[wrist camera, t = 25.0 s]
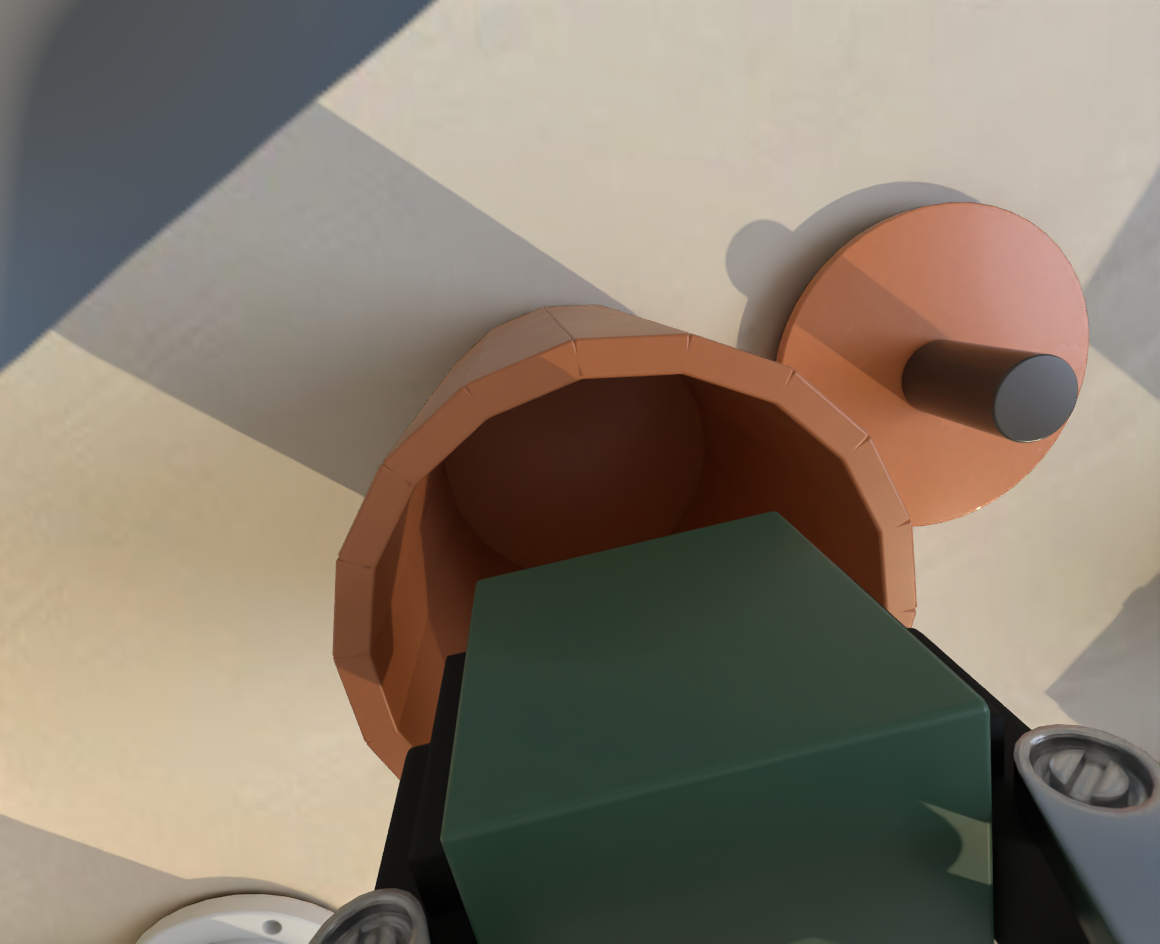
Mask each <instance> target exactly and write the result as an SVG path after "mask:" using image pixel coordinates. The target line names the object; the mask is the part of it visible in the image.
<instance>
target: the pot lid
mask: <svg viewBox="0 0 1160 944" xmlns="http://www.w3.org/2000/svg"><path fill="white" fill-rule="evenodd" d="M1088 345H1089V329H1088V316H1087V310H1086V304H1085V299H1084V296H1083V293H1082V289H1081V286H1080V283H1079V280H1078V278H1077V276H1076V274H1075V272H1074V270H1073V268H1072V266H1071V264H1070V262H1069V261H1068V259H1067V258H1066V256H1065V255H1064V254H1063V252H1062V251H1061V249H1060V248H1059V247H1058V246H1057V245H1056V243H1055V242H1054V241H1053V240H1052V239H1051V238H1050V237H1049V236H1048V235H1047V234H1046V233H1045V232H1043V231H1042V230H1041V229H1039V228H1038V227H1037V226H1035V225H1034V224H1033V223H1031V222H1030V221H1028V220H1026V219H1024V218H1022V217H1020V216H1018V215H1016V214H1014V213H1012V212H1010V211H1007V210H1004V209H1001V208H998V207H995V206H991V205H985V204H978V203H971V202H949V203H942V204H936V205H929V206H923V207H919V208H915V209H912V210H908V211H905V212H902V213H898V214H896V215H894V216H892V217H889V218H887V219H885V220H883V221H880V222H878V223H876V224H875V225H873V226H871V227H870V228H868V229H866V230H865V231H863V232H861V233H860V234H858V235H857V236H856V237H854V238H853V239H852V240H850V241H849V242H848V243H847V244H845V245H844V246H843V247H842V248H840V249H839V250H838V251H837V252H836V253H835V254H834V255H833V256H832V257H831V258H830V259H829V260H828V261H827V262H826V263H825V264H824V265H823V266H822V267H821V269H820V270H819V271H818V272H817V274H816V275H815V276H814V278H813V279H812V280H811V281H810V283H809V284H808V285H807V287H806V289H805V290H804V292H803V293H802V295H801V297H800V298H799V300H798V302H797V303H796V305H795V307H794V309H793V311H792V313H791V316H790V318H789V320H788V322H787V324H786V327H785V330H784V333H783V336H782V339H781V342H780V345H779V349H778V354H777V359H776V362H778V363H781V364H784V365H787V366H790V367H791V368H792V369H793V370H796V371H798V372H799V373H800V374H801V375H802V376H804V377H805V378H806V379H807V380H808V381H809V382H811V383H812V384H813V385H814V386H815V387H816V388H817V389H819V390H820V391H821V392H822V393H823V394H824V395H826V396H827V397H828V398H829V399H830V400H831V401H833V402H834V403H835V404H836V405H837V406H838V407H839V408H841V409H842V410H843V411H844V412H845V413H846V414H848V415H849V416H850V417H851V418H852V419H853V420H854V421H856V422H857V423H858V424H859V425H860V426H861V427H863V428H864V429H865V430H866V431H867V433H868V435H869V436H870V437H872V439H873V441H874V443H875V445H876V448H877V450H878V452H879V454H880V456H881V458H882V460H883V462H884V464H885V466H886V468H887V470H888V472H889V474H890V476H891V478H892V480H893V482H894V484H895V487H896V489H897V491H898V493H899V495H900V497H901V499H902V501H903V503H904V505H905V507H906V509H907V511H908V513H909V515H910V520H911V522H912V526H925V525H931V524H937V523H942V522H945V521H949V520H952V519H955V518H959V517H961V516H964V515H966V514H968V513H971V512H973V511H975V510H978V509H980V508H982V507H983V506H985V505H987V504H989V503H990V502H992V501H994V500H996V499H997V498H999V497H1000V496H1001V495H1003V494H1004V493H1006V492H1007V491H1008V490H1010V489H1011V488H1013V487H1014V486H1015V485H1016V484H1017V483H1018V482H1019V481H1021V480H1022V479H1023V478H1024V477H1025V476H1026V475H1027V474H1028V473H1029V472H1030V471H1031V470H1032V469H1033V468H1034V467H1035V466H1036V465H1037V464H1038V463H1039V462H1040V460H1041V459H1042V458H1043V457H1044V456H1045V454H1046V453H1047V452H1048V450H1049V449H1050V448H1051V446H1052V445H1053V444H1054V442H1055V441H1056V439H1057V438H1058V436H1059V434H1060V433H1061V431H1062V429H1063V428H1064V426H1065V424H1066V423H1067V421H1068V419H1069V416H1070V415H1071V413H1072V411H1073V409H1074V407H1075V404H1076V401H1077V398H1078V395H1079V392H1080V389H1081V386H1082V383H1083V378H1084V373H1085V369H1086V364H1087V356H1088Z"/></svg>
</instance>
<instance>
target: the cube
mask: <svg viewBox="0 0 1160 944" xmlns="http://www.w3.org/2000/svg"><path fill="white" fill-rule="evenodd" d="M440 840H441V843H442V846H443V849H444V851H445V854H446V857H447V860H448V863H449V865H450V868H451V871H452V874H453V876H454V879H455V882H456V885H457V887H458V890H459V893H460V896H461V899H462V901H463V904H464V907H465V910H466V912H467V915H468V918H469V921H470V923H471V926H472V929H473V932H474V935H475V937H476V940H477V943H478V944H994V911H993V855H992V799H991V743H990V710H989V708H988V705H987V704H986V702H985V700H984V699H983V698H982V697H981V696H980V695H978V694H977V693H976V692H975V691H974V690H973V689H972V688H971V687H970V686H969V685H967V684H966V683H965V682H964V681H963V680H962V679H961V678H960V677H959V676H957V675H956V674H955V673H954V672H953V671H952V670H951V669H950V668H949V667H948V666H946V665H945V664H944V663H943V662H942V661H941V660H940V659H939V658H938V657H937V656H935V655H934V654H933V653H932V652H931V651H930V650H929V649H928V648H927V647H926V646H924V645H923V644H922V643H921V642H920V641H919V640H918V639H917V638H916V637H915V636H913V635H912V634H911V633H910V632H909V631H908V630H907V629H906V628H905V627H904V626H902V625H901V624H900V623H899V622H898V621H897V620H896V619H895V618H894V617H892V616H891V615H890V614H889V613H888V612H887V611H886V610H885V609H884V608H883V607H881V606H880V605H879V604H878V603H877V602H876V601H875V600H874V599H873V598H872V597H870V596H869V595H868V594H867V593H866V592H865V591H864V590H863V589H862V588H861V587H859V586H858V585H857V584H856V583H855V582H854V581H853V580H852V579H851V578H850V577H848V576H847V575H846V574H845V573H844V572H843V571H842V570H841V569H840V568H839V567H837V566H836V565H835V564H834V563H833V562H832V561H831V560H830V559H829V558H827V557H826V556H825V555H824V554H823V553H822V552H821V551H820V550H819V549H818V548H816V547H815V546H814V545H813V544H812V543H811V542H810V541H809V540H808V539H807V538H805V537H804V536H803V535H802V534H801V533H800V532H799V531H798V530H797V529H796V528H794V527H793V526H792V525H791V524H790V523H789V522H788V521H787V520H786V519H785V518H783V517H782V516H781V515H780V514H779V513H778V512H774V511H771V512H767V513H763V514H759V515H754V516H750V517H746V518H742V519H737V520H733V521H729V522H725V523H720V524H716V525H712V526H708V527H703V528H699V529H695V530H691V531H686V532H682V533H678V534H673V535H669V536H665V537H661V538H656V539H652V540H648V541H644V542H639V543H635V544H631V545H627V546H622V547H618V548H614V549H610V550H605V551H601V552H597V553H593V554H588V555H584V556H580V557H575V558H571V559H567V560H563V561H558V562H554V563H550V564H546V565H541V566H537V567H533V568H529V569H524V570H520V571H516V572H512V573H507V574H503V575H499V576H495V577H490V578H486V579H482V580H479V581H477V582H476V586H475V593H474V600H473V607H472V614H471V621H470V629H469V636H468V643H467V650H466V657H465V665H464V672H463V679H462V686H461V693H460V701H459V708H458V715H457V722H456V729H455V736H454V744H453V751H452V758H451V765H450V772H449V780H448V787H447V794H446V801H445V808H444V816H443V823H442V830H441V837H440Z"/></svg>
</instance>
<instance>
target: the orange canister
mask: <svg viewBox="0 0 1160 944" xmlns="http://www.w3.org/2000/svg"><path fill="white" fill-rule="evenodd" d="M771 511H774V512H778V513H779V514H780V515H781V516H782V517H783V518H785V519H786V520H787V521H788V522H789V523H790V524H791V525H792V526H793V527H794V528H796V529H797V530H798V531H799V532H800V533H801V534H802V535H803V536H804V537H805V538H807V539H808V540H809V541H810V542H811V543H812V544H813V545H814V546H815V547H816V548H818V549H819V550H820V551H821V552H822V553H823V554H824V555H825V556H826V557H827V558H829V559H830V560H831V561H832V562H833V563H834V564H836V565H837V566H839V567H840V568H841V569H842V570H843V571H845V572H846V573H847V574H848V575H849V576H850V577H851V578H852V579H853V580H855V581H856V582H857V583H858V584H859V585H860V586H861V587H862V588H863V589H864V590H866V591H867V592H868V593H869V594H870V595H871V596H872V597H873V598H874V599H875V600H877V601H878V602H879V603H880V604H881V605H882V606H883V607H884V608H885V609H887V610H888V611H889V612H890V613H891V614H892V615H893V616H894V617H895V618H896V619H898V620H899V621H900V622H901V623H902V624H903V625H904V626H905V627H906V628H911V627H912V623H913V620H914V617H915V614H916V611H915V609H916V607H917V601H916V584H915V567H914V550H913V532H912V522H911V520H910V515H909V513H908V511H907V509H906V507H905V505H904V503H903V501H902V499H901V497H900V495H899V493H898V491H897V489H896V487H895V484H894V482H893V480H892V478H891V476H890V474H889V472H888V470H887V468H886V466H885V464H884V462H883V460H882V458H881V456H880V454H879V452H878V450H877V448H876V445H875V443H874V441H873V439H872V437H870V436H869V435H868V433H867V431H866V430H865V429H864V428H863V427H861V426H860V425H859V424H858V423H857V422H856V421H854V420H853V419H852V418H851V417H850V416H849V415H848V414H846V413H845V412H844V411H843V410H842V409H841V408H839V407H838V406H837V405H836V404H835V403H834V402H833V401H831V400H830V399H829V398H828V397H827V396H826V395H824V394H823V393H822V392H821V391H820V390H819V389H817V388H816V387H815V386H814V385H813V384H812V383H811V382H809V381H808V380H807V379H806V378H805V377H804V376H802V375H801V374H800V373H799V372H798V371H796V370H793V369H792V368H791V367H790V366H787V365H784V364H781V363H778V362H775V361H772V360H769V359H766V358H763V357H760V356H757V355H754V354H751V353H748V352H745V351H742V350H739V349H736V348H733V347H730V346H727V345H724V344H721V343H718V342H715V341H712V340H709V339H706V338H703V337H700V336H697V335H694V334H691V333H688V332H685V331H682V330H678V329H675V328H672V327H669V326H666V325H662V324H659V323H656V322H653V321H650V320H646V319H643V318H640V317H637V316H634V315H630V314H627V313H624V312H621V311H618V310H614V309H611V308H608V307H605V306H602V305H572V306H553V307H544V308H540V309H537V310H535V311H533V312H530V313H528V314H524V315H522V316H520V317H517V318H515V319H513V320H511V321H509V322H506V323H504V324H502V325H500V326H497V327H495V328H493V330H490V331H489V332H488V333H487V334H486V335H485V336H484V337H483V338H482V339H481V340H480V341H479V342H478V343H477V344H475V345H474V346H473V347H472V348H471V349H470V350H469V351H468V352H467V353H466V354H465V355H464V356H463V357H462V358H461V359H460V360H459V361H458V362H457V363H456V364H455V365H454V366H453V367H452V368H451V370H450V371H449V373H448V374H447V375H446V377H445V378H444V379H443V381H442V382H441V383H440V385H439V386H438V387H437V389H436V390H435V391H434V393H433V394H432V396H431V397H430V398H429V400H428V401H427V402H426V404H425V405H424V406H423V408H422V409H421V410H420V412H419V413H418V414H417V416H416V417H415V419H414V420H413V421H412V423H411V424H410V425H409V427H408V428H407V429H406V431H405V432H404V433H403V435H402V436H401V438H400V439H399V440H398V442H397V443H396V444H395V446H394V447H393V448H392V450H391V451H390V452H389V454H388V455H387V456H386V458H385V459H384V461H383V462H382V464H381V465H380V466H379V468H378V470H377V473H376V475H375V477H374V479H373V481H372V483H371V485H370V488H369V490H368V492H367V494H366V496H365V498H364V501H363V503H362V505H361V507H360V509H359V511H358V513H357V516H356V518H355V520H354V522H353V524H352V526H351V528H350V531H349V533H348V535H347V537H346V539H345V541H344V543H343V546H342V548H341V550H340V552H339V558H338V559H337V561H336V577H335V604H334V630H333V656H334V658H333V659H334V662H335V665H336V667H337V670H338V672H339V675H340V678H341V680H342V683H343V685H344V688H345V691H346V693H347V696H348V699H349V701H350V704H351V706H352V709H353V712H354V714H355V717H356V719H357V722H358V725H359V727H360V730H361V733H362V735H363V738H364V740H365V742H367V745H368V746H369V747H370V748H371V749H372V751H373V752H374V753H375V754H376V755H377V756H378V757H379V758H380V759H381V760H382V761H383V762H384V763H385V765H386V766H387V767H388V768H389V769H390V770H391V771H392V772H393V773H394V774H395V775H396V776H397V778H398V779H399V780H400V779H401V775H402V771H403V766H404V762H405V758H406V755H407V752H408V750H409V749H410V748H411V747H415V746H419V745H423V744H427V743H430V740H431V735H432V729H433V724H434V719H435V714H436V708H437V703H438V698H439V693H440V687H441V682H442V677H443V672H444V666H445V661H446V658H447V656H449V655H453V654H458V653H462V652H466V650H467V643H468V636H469V629H470V621H471V614H472V607H473V600H474V593H475V586H476V582H477V581H479V580H482V579H486V578H490V577H495V576H499V575H503V574H507V573H512V572H516V571H520V570H524V569H529V568H533V567H537V566H541V565H546V564H550V563H554V562H558V561H563V560H567V559H571V558H575V557H580V556H584V555H588V554H593V553H597V552H601V551H605V550H610V549H614V548H618V547H622V546H627V545H631V544H635V543H639V542H644V541H648V540H652V539H656V538H661V537H665V536H669V535H673V534H678V533H682V532H686V531H691V530H695V529H699V528H703V527H708V526H712V525H716V524H720V523H725V522H729V521H733V520H737V519H742V518H746V517H750V516H754V515H759V514H763V513H767V512H771Z"/></svg>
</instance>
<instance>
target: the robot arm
mask: <svg viewBox="0 0 1160 944" xmlns="http://www.w3.org/2000/svg"><path fill="white" fill-rule="evenodd" d="M835 565H836V564H835ZM836 566H837V565H836ZM837 567H839V566H837ZM839 568H840V567H839ZM840 569H841V568H840ZM841 570H842V569H841ZM842 571H843V570H842ZM843 572H844V573H845V574H846V575H847V576H848V577H850V576H849V575H848V574H847V573H846V572H845V571H843ZM850 578H851V577H850ZM851 579H852V578H851ZM852 580H853V579H852ZM853 581H854V582H855V583H856V584H857V585H858V586H859V587H861V586H860V585H859V584H858V583H857V582H856V581H855V580H853ZM861 588H862V587H861ZM862 589H863V588H862ZM863 590H864V589H863ZM864 591H865V592H866V593H867V594H868V595H869V596H870V597H872V596H871V595H870V594H869V593H868V592H867V591H866V590H864ZM872 598H873V597H872ZM873 599H874V598H873ZM874 600H875V599H874ZM875 601H876V602H877V603H878V604H879V605H880V606H881V607H883V606H882V605H881V604H880V603H879V602H878V601H877V600H875ZM883 608H884V607H883ZM884 609H885V608H884ZM885 610H886V611H887V612H888V613H889V614H890V615H891V616H892V617H894V616H893V615H892V614H891V613H890V612H889V611H888V610H887V609H885ZM894 618H895V617H894ZM895 619H896V618H895ZM896 620H897V621H898V622H899V623H900V624H901V625H902V626H904V625H903V624H902V623H901V622H900V621H899V620H898V619H896ZM904 627H905V626H904ZM905 628H906V627H905ZM906 629H907V630H908V631H909V632H910V633H911V634H912V635H913V636H915V637H916V638H917V639H918V640H919V641H920V642H921V643H922V644H923V645H924V646H926V647H927V648H928V649H929V650H930V651H931V652H932V653H933V654H934V655H935V656H937V657H938V658H939V659H940V660H941V661H942V662H943V663H944V664H945V665H946V666H948V667H949V668H950V669H951V670H952V671H953V672H954V673H955V674H956V675H957V676H959V677H960V678H961V679H962V680H963V681H964V682H965V683H966V684H967V685H969V686H970V687H971V688H972V689H973V690H974V691H975V692H976V693H977V694H978V695H980V696H981V697H982V698H983V699H984V700H985V702H986V704H987V705H988V708H989V710H990V743H991V799H992V855H993V911H994V939H995V941H996V942H997V943H998V944H1160V764H1159V763H1158V762H1156V761H1155V760H1154V759H1153V758H1152V757H1151V756H1150V755H1149V754H1148V753H1147V752H1145V751H1143V750H1142V749H1140V748H1138V747H1137V746H1135V745H1133V744H1132V743H1130V742H1128V741H1127V740H1125V739H1122V738H1120V737H1117V736H1114V735H1112V734H1109V733H1107V732H1104V731H1101V730H1097V729H1092V728H1088V727H1083V726H1078V725H1061V724H1056V725H1049V726H1042V727H1037V728H1035V729H1033V730H1031V729H1030V728H1029V727H1028V726H1026V725H1025V724H1024V723H1023V722H1022V721H1021V720H1020V719H1018V718H1017V717H1016V716H1015V715H1014V714H1013V713H1012V712H1011V711H1009V710H1008V709H1007V708H1006V707H1005V706H1004V705H1003V704H1002V703H1000V702H999V701H998V700H997V699H996V698H995V697H994V696H992V695H991V694H990V693H989V692H988V691H987V690H986V689H985V688H983V687H982V686H981V685H980V684H979V683H978V682H977V681H976V680H974V679H973V678H972V677H971V676H970V675H969V674H968V673H966V672H965V671H964V670H963V669H962V668H961V667H960V666H959V665H957V664H956V663H955V662H954V661H953V660H952V659H951V658H950V657H948V656H947V655H946V654H945V653H944V652H943V651H942V650H941V649H939V648H938V647H937V646H936V645H935V644H934V643H933V642H931V641H930V640H929V639H928V638H927V637H926V636H925V635H924V634H922V633H921V632H919V631H918V630H916V629H914V628H906ZM465 657H466V652H462V653H458V654H453V655H449V656H447V658H446V661H445V666H444V672H443V677H442V682H441V687H440V693H439V698H438V703H437V708H436V714H435V719H434V724H433V729H432V735H431V740H430V743H427V744H423V745H419V746H415V747H411V748H410V749H409V750H408V752H407V755H406V758H405V762H404V766H403V771H402V775H401V779H400V783H399V788H398V792H397V796H396V800H395V805H394V809H393V813H392V817H391V822H390V826H389V830H388V834H387V839H386V843H385V847H384V852H383V856H382V860H381V864H380V869H379V873H378V877H377V881H376V886H375V890H374V891H371V892H369V893H366V894H363V895H360V896H358V897H357V898H355V899H353V900H352V901H350V902H349V903H347V904H345V905H344V906H342V907H341V908H339V909H338V910H337V911H336V912H335V913H334V912H332V911H329V910H327V909H325V908H323V907H320V906H318V905H316V904H313V903H310V902H306V901H302V900H298V899H295V898H291V897H285V896H276V895H268V894H239V895H230V896H225V897H219V898H213V899H208V900H205V901H202V902H199V903H196V904H192V905H189V906H186V907H183V908H181V909H180V910H178V911H176V912H174V913H172V914H170V915H168V916H166V917H164V918H162V919H161V920H159V921H158V922H157V923H156V924H154V925H153V926H152V927H151V928H149V929H148V930H147V931H146V932H144V933H143V934H142V935H141V937H140V938H139V939H138V940H137V942H136V943H135V944H478V943H477V940H476V937H475V935H474V932H473V929H472V926H471V923H470V921H469V918H468V915H467V912H466V910H465V907H464V904H463V901H462V899H461V896H460V893H459V890H458V887H457V885H456V882H455V879H454V876H453V874H452V871H451V868H450V865H449V863H448V860H447V857H446V854H445V851H444V849H443V846H442V843H441V840H440V837H441V830H442V823H443V816H444V808H445V801H446V794H447V787H448V780H449V772H450V765H451V758H452V751H453V744H454V736H455V729H456V722H457V715H458V708H459V701H460V693H461V686H462V679H463V672H464V665H465Z"/></svg>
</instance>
